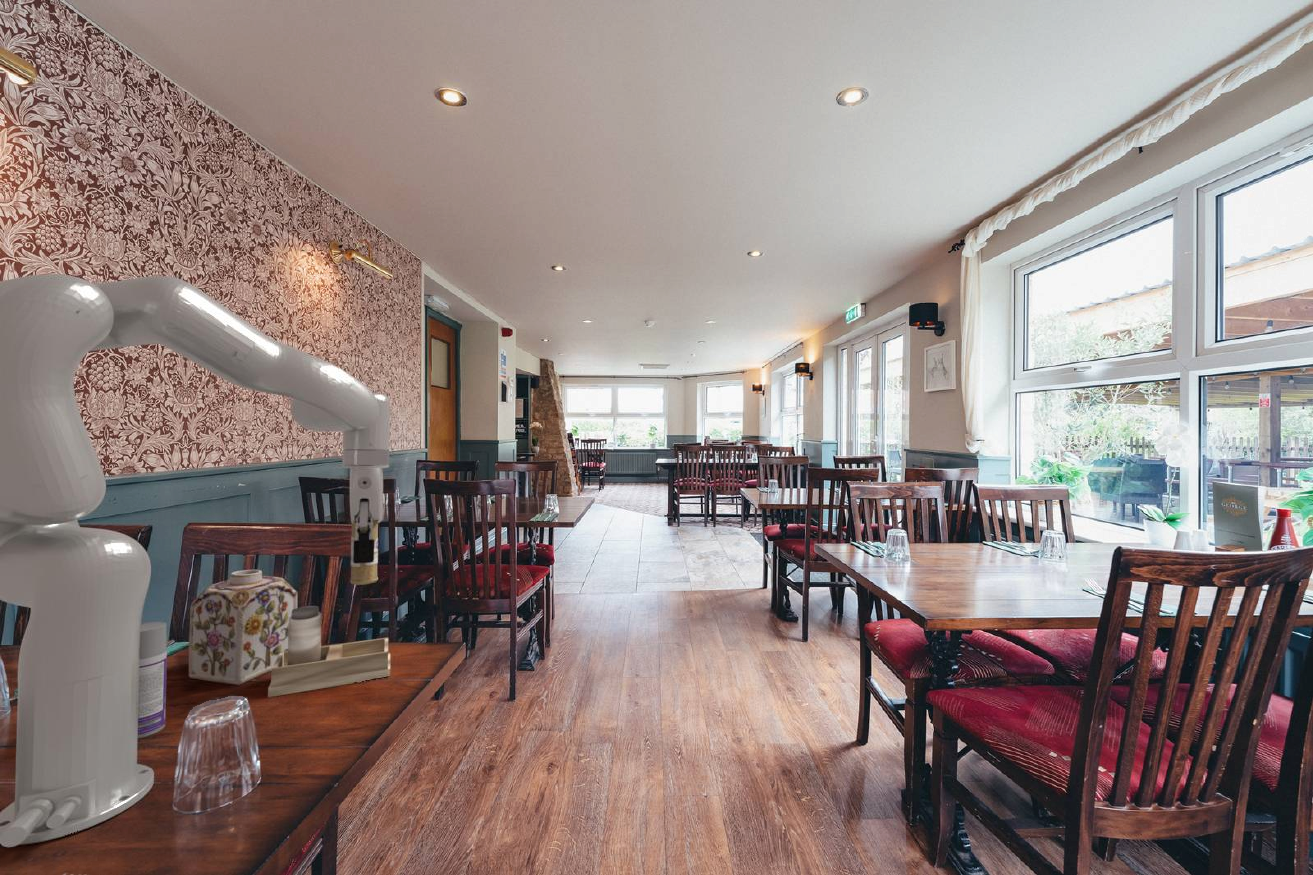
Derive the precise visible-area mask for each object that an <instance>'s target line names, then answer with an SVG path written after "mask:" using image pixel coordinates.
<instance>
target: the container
mask: <svg viewBox="0 0 1313 875" xmlns="http://www.w3.org/2000/svg"><path fill="white" fill-rule="evenodd" d="M167 638H168V637H167V623H166V622H164V621H151V622H144V623H141V628H140V647H139V695H138V737H137V740H138V739H142V738H146V737H149V736H151V735H154V734H156V733H159V732H160V731H161V730H163V729H164V728H165V727H166V706H167V704H166V703H167V702H166V701H167V664H168V663H167V662H168V660H167V659H168V658H167V656H168V654H167V653H168V652H167V650H168V647H167Z"/></svg>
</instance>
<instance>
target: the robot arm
mask: <svg viewBox="0 0 1313 875" xmlns="http://www.w3.org/2000/svg"><path fill="white" fill-rule="evenodd" d="M156 344H159V345H161V346H163V347H165V348H168V349H169V350H171V351H173V352H175V353H176V354H178V355H180V356H182V357H184V358H186V359H187V360H189V361H191V362H192V363H194V364H196V365H198V366H200V367H202V368H203V369H205V370H207V371H208V372H210V373H211V374H214V375H216V376H217V377H219V378H220V379H222V380H224V381H226V382H228V383H230V384H232V385H234V386H237V387H240V388H244V389H248V390H251V391H255V392H259V393H265V394H272V395H277V396H281V397H286V398H292V401H291V403H290V405H289V406H290V407H289V411H290V414H291V417H292V419H293V421H295V423H297V425H299V426H300V427H302V428H303V429H306V430H309V431H315V432H342V466H341V467H342V469H349V508H350V510H349V512H350V522H351V524H352V523H354V524H355V523H356V524H355V526H356V527H355V541H354V555H353V562H354V563H355V564H357V563H370V562H373V561H374V539H373V519H374V520H378V524H380V523H381V522H382V521H383V511H384V510H383V509H384V508H383V506H384V503H383V502H384V501H383V500H384V473H383V472H384V471H383V469H388V468H390V426H391V425H390V424H391V423H390V422H391V420H390V419H391V402H390V398H389V397H388V395H386V394H383V393H379V392H372V391H371V389H370V388H369V387H368V386H366V385H365V384H364V383H362V382H361V381H360V380H358V379H357V378H356V377H354V376H353V375H351V374H350V373H348V372H347V371H345V370H344V369H342V367H339V366H337V365H335V364H333V363H331V362H329V361H327V360H324V359H322V358H320V357H317V356H315V355H312V354H310V353H308V352H305V351H302V350H300V349H299V348H296V347H294V346H292V345H288V344H286V343H284V342H280V341H278V340H275V339H273V338H272V337H270V336H269V335H267V334H266V333H264V332H262V330H260V329H259V328H257V327H255V326H254V325H252V324H251V323H249V322H248V321H246V320H245V319H243V318H242V317H240V316H239V315H237V314H236V313H235V312H233V311H232V310H230V309H229V308H227V307H226V306H224V305H223V304H222V303H220V302H218V301H217V300H216V299H214V298H213V297H211V296H210V295H208V294H207V293H206V292H204V291H203V290H200V289H199V288H198V287H197V286H194V285H193V284H191V283H189V282H187V281H185V280H183V279H180V278H178V277H174V276H169V275H151V276H144V277H138V278H130V279H125V280H123V279H122V280H117V281H105V282H90V281H89V280H86V279H83V278H82V277H81V278H80V277H77V276H74V275H69V274H63V273H62V274H61V273H41V274H39V273H37V274H32V275H24V276H20V277H15V278H10V279H6V280H0V601H2V602H4V603H6V604H7V603H8V604H11V605H15V606H19V607H25V608H30V614H29V619H28V622H27V626H26V629H25V631H24V634H23V637H22V640H21V644H20V650H19V656H18V664H17V708H16V709H17V714H16V716H17V717H16V744H15V745H16V748H15V750H16V751H15V784H14V786H15V787H14V792H15V793H14V801H13V802H11V803H10V804H8V806H6V807H5V808H3V809H2V810H1V811H0V845H1V846H2V847H6V848H13V847H16V846H20V845H27V844H28V845H29V844H36V843H41V842H46V841H51V840H55V839H58V838H62V837H65V835H66V836H68V834H69V835H71V833H72V834H75V833H78V832H80V831H84V830H86V829H89V828H91V827H93V826H95V825H98V824H101V823H102V822H105V821H107V820H109V819H112V818H114V817H115V816H117V815H119V814H121V813H122V812H124V811H125V810H127V809H129V808H131V807H132V806H133V805H135V804H136V803H137V802H139V801H140V800H142V798H144V797H145V796H146V795H147V793H149V792H150V790H151V789H152V788H153V785H154V782H155V771H154V770H153V769H152V768H151V767H149V766H147V765H145V764H139V763H138V739H137V737H138V695H139V647H140V628H141V624H142V617H143V610H144V606H145V601H146V598H147V595H148V594H147V593H148V590H149V587H150V582H151V576H152V565H151V559H150V556H149V554H148V552H147V551H146V549H145V548H144V547H143V545H141V543H139V541H137V540H136V539H134V538H132V537H131V536H129V535H127V534H124V533H122V532H119V531H115V530H110V529H105V528H95V527H82V526H80V524H79V522H78V520H80V519H83V518H84V517H86V516H88V515H89V514H91V513H92V512H93V511H95V510H96V509H97V508H98V506H100V505H101V503H102V502H103V500H104V498H105V496H106V491H107V483H106V478H105V475H104V470H103V467H102V465H101V462H100V461H99V460H100V459H98V456H97V453H96V451H95V448H94V445H93V444H92V443H93V442H92V441H91V438H90V436H89V433H88V430H87V427H86V425H85V424H84V420H83V418H82V415H81V412H80V409H79V405H78V402H77V398H76V397H77V396H76V393H75V384H74V383H75V377H76V376H75V375H76V372H77V370H78V368H79V365H80V364H81V362H82V361H83V358H85V357H86V355H87V354H88V353H89V352H92V351H93V352H94V351H101V350H111V349H119V348H120V349H121V348H127V347H136V346H144V345H145V346H146V345H156ZM368 508H369V509H368ZM355 515H356V519H355ZM359 519H360V523H358V520H359ZM368 519H371V522H368ZM355 521H356V522H355ZM369 526H370V528H369ZM77 831H78V832H77ZM74 832H75V833H74Z"/></svg>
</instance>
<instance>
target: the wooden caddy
mask: <svg viewBox="0 0 1313 875" xmlns="http://www.w3.org/2000/svg"><path fill="white" fill-rule="evenodd" d="M270 673H271V674H270V675H271V676H270V677H271V678H270V679H271V681H270V683H269V686H268V687H267V690H268V691H267V698H272V697H278V696H283V695H290V694H296V693H302V692H309V691H313V690H320V689H325V688H332V687H339V686H344V685H349V684H355V683H354V682H357V683H363V682H362V681H364V682H366V681H365V680H370V679H373V678H381V677H386V676H390V677H391V653H390V652H389V637H382V638H381V637H380V638H376V639H375V638H374V639H367V640H359V641H353V642H352V641H351V642H345V643H336V644H329V645H324V646H322V612H320V606H317V605H305V606H298V607H297V608H296V609H293V610H292V616H291V617H289V632H288V651H284V652H280V654H279V656H278V658H277V660H276V662H275V664H274V666H273V667H272V671H270ZM370 681H371V680H370Z"/></svg>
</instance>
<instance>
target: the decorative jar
mask: <svg viewBox="0 0 1313 875" xmlns="http://www.w3.org/2000/svg"><path fill="white" fill-rule="evenodd" d="M296 608H298V591H297V590H296V589H294V587H293V586H292V585H290V583H288V581H286V580H285V579H284V578H283V577H279V576H270V575H263V572H262V570H261V569H244V570H237V571H233V572H231V573H230V574H229V579H228V580H224V581H220V582H217V583H213V584H211V585H209V586H208V587H207V588H206V589H205V590H203V591H202V592H200V593H199V595H198V596H197V597H196V598H195V599H194V600H193V601H192V603H190V611H189V612H190V613H189V636H188V637H189V640H188V676H189V678H190V679H195V680H201V681H207V682H215V683H223V684H229V685H236V686H240V685H242V684H245V683H247V682H249V681H251V680H254V679H256V678H258V677H260V676H263V675H265V674H268V673H271V671H272V667H273V666H274V664H275V662H276V660H277V658H278V656H279V654H280V652H284V651H288V632H289V617H291V616H292V610H293V609H296Z"/></svg>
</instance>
